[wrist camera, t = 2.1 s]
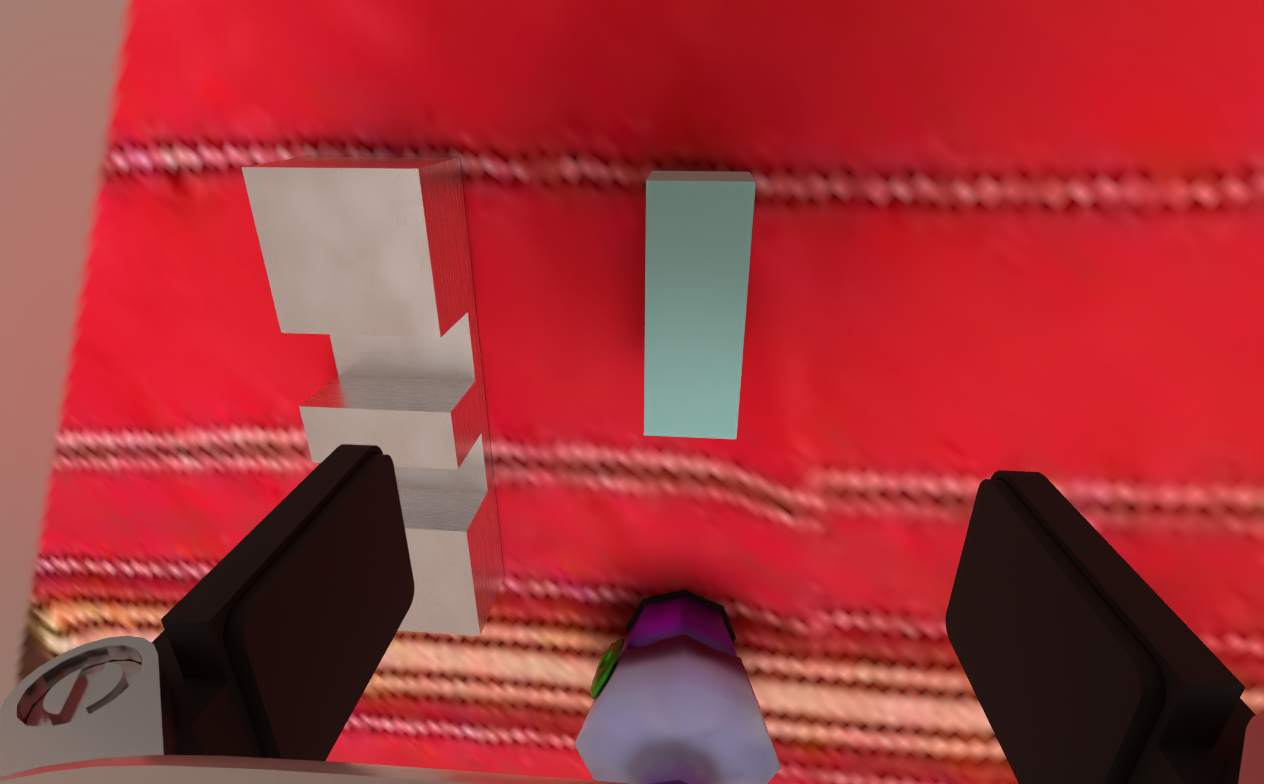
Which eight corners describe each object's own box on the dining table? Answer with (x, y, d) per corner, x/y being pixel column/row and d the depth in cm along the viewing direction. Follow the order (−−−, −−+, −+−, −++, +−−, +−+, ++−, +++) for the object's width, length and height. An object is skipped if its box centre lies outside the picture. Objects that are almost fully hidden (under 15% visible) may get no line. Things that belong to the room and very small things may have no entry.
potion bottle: (598, 558, 32) (547, 799, 21) (776, 574, 31) (817, 832, 20) (596, 683, 35) (550, 944, 25) (754, 700, 35) (780, 975, 24)
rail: (308, 156, 25) (241, 167, 21) (459, 157, 24) (418, 168, 21) (389, 569, 33) (352, 626, 30) (504, 576, 33) (480, 635, 29)
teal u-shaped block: (658, 158, 24) (646, 180, 18) (741, 159, 24) (755, 181, 18) (655, 361, 27) (644, 435, 21) (727, 363, 27) (736, 439, 21)
